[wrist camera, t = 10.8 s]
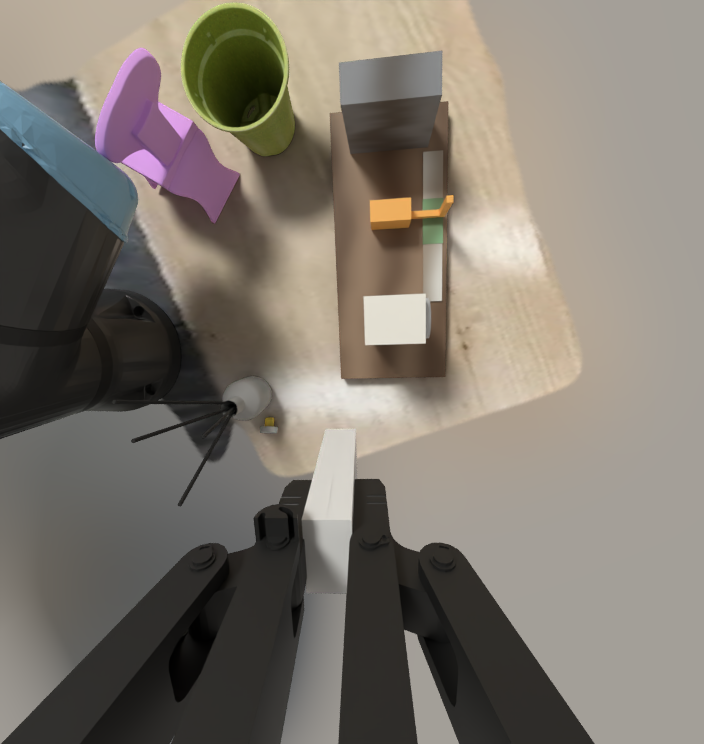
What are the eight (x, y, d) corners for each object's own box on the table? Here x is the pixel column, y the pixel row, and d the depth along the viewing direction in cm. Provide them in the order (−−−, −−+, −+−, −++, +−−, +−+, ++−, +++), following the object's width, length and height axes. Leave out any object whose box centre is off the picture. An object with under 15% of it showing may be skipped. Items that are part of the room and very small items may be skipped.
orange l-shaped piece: (371, 230, 35) (369, 216, 30) (370, 210, 35) (368, 193, 30) (443, 225, 34) (453, 210, 29) (443, 205, 34) (453, 186, 29)
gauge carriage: (369, 337, 37) (365, 345, 27) (368, 301, 36) (363, 296, 26) (419, 336, 36) (433, 343, 27) (419, 299, 36) (433, 293, 26)
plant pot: (327, 114, 35) (310, 49, 26) (279, 191, 37) (248, 153, 28) (258, 59, 35) (217, -25, 26) (212, 140, 36) (160, 85, 28)
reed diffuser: (222, 370, 41) (74, 421, 21) (267, 345, 40) (155, 372, 20) (263, 439, 42) (158, 546, 22) (308, 416, 41) (239, 507, 21)
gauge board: (342, 376, 40) (330, 394, 30) (331, 121, 35) (313, 51, 26) (442, 374, 38) (462, 392, 29) (445, 110, 34) (469, 32, 24)
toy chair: (177, 126, 37) (47, -25, 22) (244, 166, 37) (161, 42, 22) (144, 193, 37) (-2, 92, 22) (210, 231, 37) (107, 155, 22)
